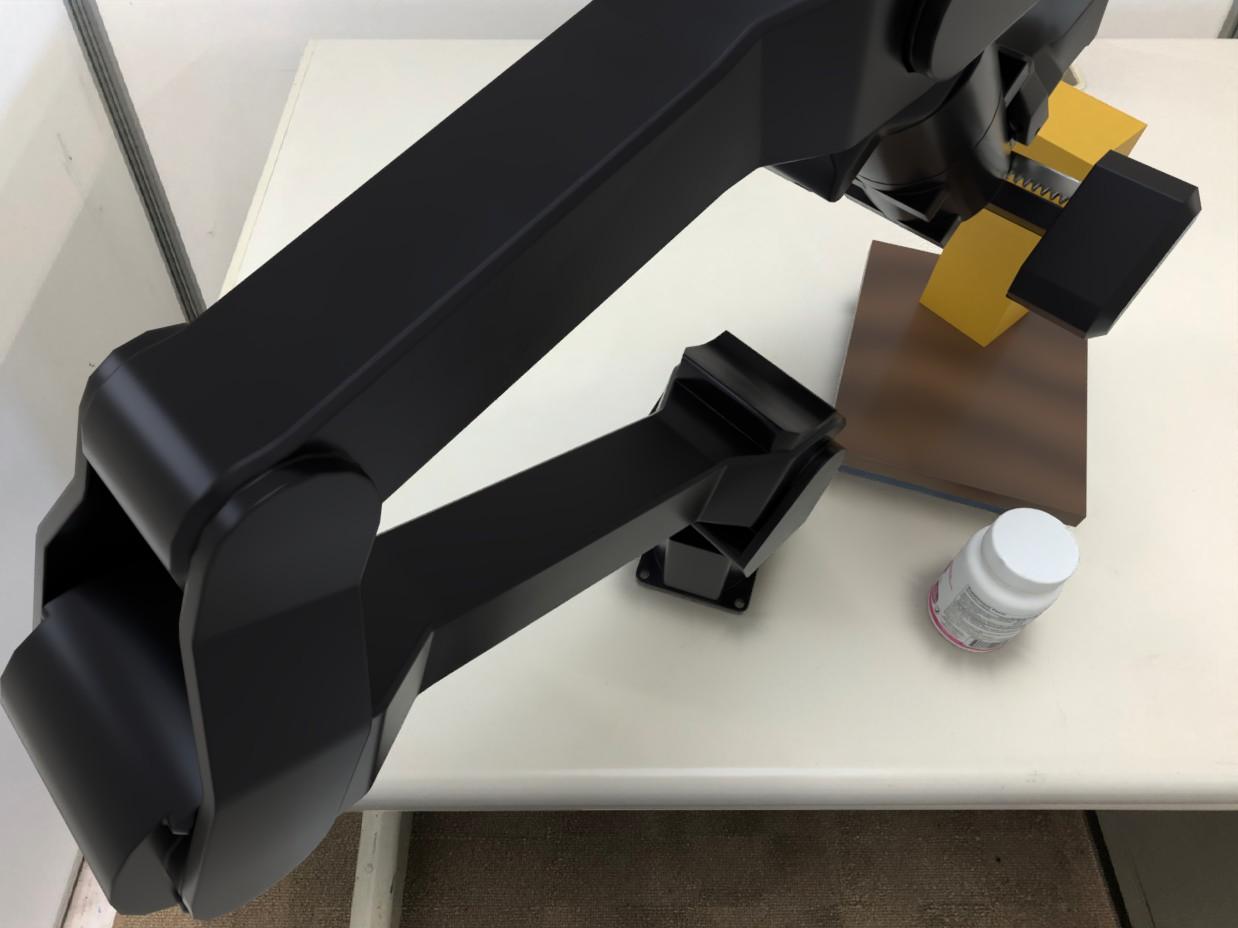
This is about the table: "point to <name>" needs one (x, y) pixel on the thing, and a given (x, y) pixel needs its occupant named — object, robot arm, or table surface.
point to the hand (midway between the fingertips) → (959, 222)
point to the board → (961, 399)
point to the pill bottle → (1003, 579)
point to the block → (997, 247)
